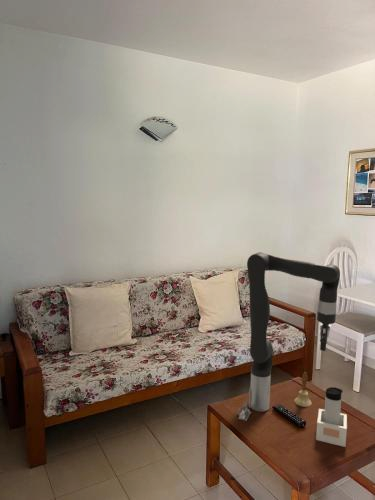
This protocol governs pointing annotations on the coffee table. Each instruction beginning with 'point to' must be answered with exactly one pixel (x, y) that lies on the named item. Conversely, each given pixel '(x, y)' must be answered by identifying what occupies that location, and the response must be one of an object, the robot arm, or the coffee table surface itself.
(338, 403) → the travel mug
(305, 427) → the coffee table surface
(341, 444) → the socket
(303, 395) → the hand bell
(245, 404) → the house of cards
